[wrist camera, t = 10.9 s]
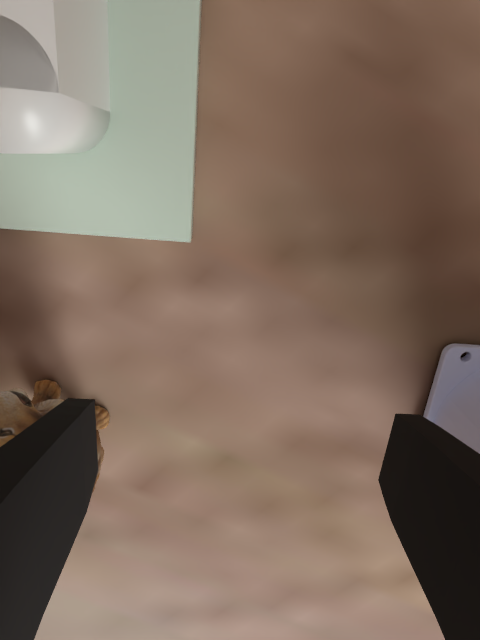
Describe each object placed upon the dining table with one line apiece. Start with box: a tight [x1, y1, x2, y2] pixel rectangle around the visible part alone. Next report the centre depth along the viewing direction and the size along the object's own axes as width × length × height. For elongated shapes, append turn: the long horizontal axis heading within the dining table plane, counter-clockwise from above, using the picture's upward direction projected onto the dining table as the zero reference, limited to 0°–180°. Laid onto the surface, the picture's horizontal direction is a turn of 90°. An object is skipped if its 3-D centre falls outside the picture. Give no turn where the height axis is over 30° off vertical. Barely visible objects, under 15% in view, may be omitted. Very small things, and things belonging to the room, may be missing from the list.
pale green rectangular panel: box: [0, 0, 202, 242], centre depth 15 cm, size 9×12×1 cm
